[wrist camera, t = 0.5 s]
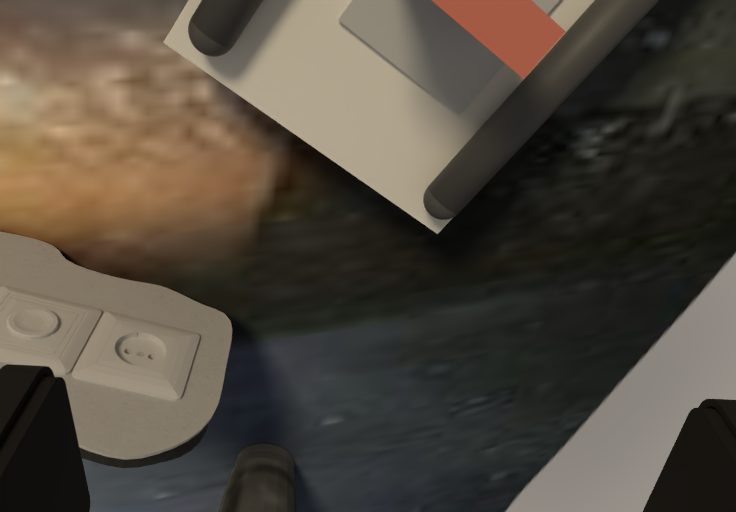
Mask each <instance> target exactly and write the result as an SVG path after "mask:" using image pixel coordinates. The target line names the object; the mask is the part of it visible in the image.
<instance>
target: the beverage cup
mask: <svg viewBox="0 0 736 512" xmlns="http://www.w3.org/2000/svg"><path fill="white" fill-rule="evenodd" d="M219 512H296V479H295V471H294V460H293V457H292V456H291V455H290V454H289V452H288V451H286V450H285V449H283V448H281V447H280V446H276V445H273V444H265V443H260V444H254V445H251V446H248V447H246V448H244V449H243V450H242V451H241V452H239V454H238V455H237V457H236V460H235V465H234V467H233V470H232V472H231V474H230V476H229V480H228V483H227V486H226V490H225V493H224V496H223V500H222V503H221V506H220V509H219Z"/></svg>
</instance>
